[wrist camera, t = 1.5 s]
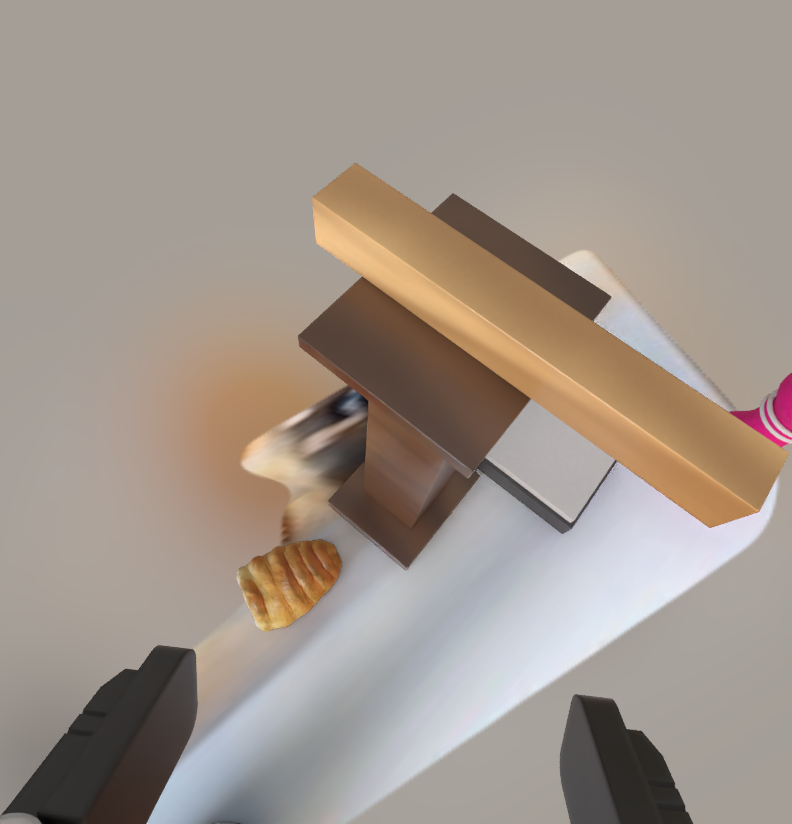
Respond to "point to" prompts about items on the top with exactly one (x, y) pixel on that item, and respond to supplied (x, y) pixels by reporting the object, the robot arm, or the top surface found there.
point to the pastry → (288, 581)
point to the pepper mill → (772, 415)
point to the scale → (547, 466)
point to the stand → (426, 393)
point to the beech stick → (549, 351)
